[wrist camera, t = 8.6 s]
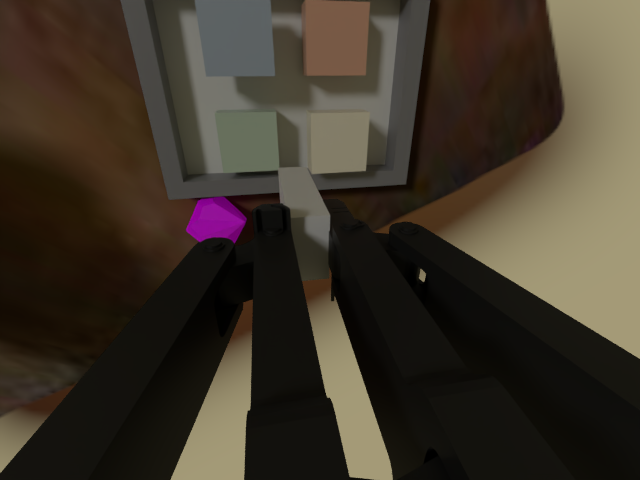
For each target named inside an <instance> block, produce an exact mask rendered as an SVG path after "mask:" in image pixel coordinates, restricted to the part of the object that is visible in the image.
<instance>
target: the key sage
mask: <svg viewBox="0 0 640 480" xmlns="http://www.w3.org/2000/svg"><path fill="white" fill-rule="evenodd" d="M215 120H216V126H217V133H218V140H219V146H220V153H221V160H222V167H223V173H236V172H255V171H274V170H278V168H280V167H279V151H278V135H277V119H276V111H275V109H240V110H217V111H216V112H215Z"/></svg>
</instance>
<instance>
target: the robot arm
mask: <svg viewBox="0 0 640 480" xmlns="http://www.w3.org/2000/svg"><path fill="white" fill-rule="evenodd" d="M278 175H279V191H280V203H278V204H262V205H260V206H258V207H256V208H255V209H253V211H252V217H253V226H254V239H252V240H251V241H250V242H247V243H245V244H242V245H239V246H235V245H234V242H233V241H232V240H230V239H228V238H222V237H217V238H216V237H212V238H208V239H205V240H203V241H201V242H199V243H197V244H196V245H195V246H194V247H193V248H192V249H191V250H190V252H189V253H188V254H187V255H186V256H185V258H184V259H183V260H182V261H181V262H180V263H179V265H178V266H177V267H176V268H175V269H174V270H173V272H172V273H171V274H170V275H169V276H168V277H167V279H166V280H165V281H164V282H163V283H162V284H161V286H160V287H159V288H158V289H157V290H156V291H155V293H154V294H153V295H152V296H151V297H150V299H149V300H148V301H147V302H146V303H145V304H144V306H143V307H142V308H141V309H140V310H139V311H138V313H137V314H136V315H135V316H134V317H133V318H132V320H131V321H130V322H129V323H128V324H127V325H126V327H125V328H124V329H123V330H122V331H121V332H120V334H119V335H118V336H117V337H116V338H115V340H114V341H113V342H112V343H111V344H110V345H109V347H108V348H107V349H106V350H105V351H104V352H103V354H102V355H101V356H100V357H99V358H98V359H97V361H96V362H95V363H94V364H93V365H92V366H91V368H90V369H89V370H88V371H87V372H86V373H85V375H84V376H83V377H82V378H81V379H80V381H79V382H78V383H77V384H76V385H75V386H74V388H73V389H72V390H71V391H70V392H69V393H68V395H67V396H66V397H65V398H64V399H63V401H62V402H61V403H60V404H59V405H58V406H57V408H56V409H55V410H54V411H53V412H52V413H51V415H50V416H49V417H48V418H47V419H46V420H45V422H44V423H43V424H42V425H41V426H40V427H39V429H38V430H37V431H36V432H35V433H34V434H33V436H32V437H31V438H30V439H29V440H28V441H27V443H26V444H25V445H24V446H23V447H22V448H21V450H20V451H19V452H18V453H17V454H16V456H15V457H14V458H13V459H12V460H11V461H10V463H9V464H8V465H7V466H6V467H5V468H4V470H3V471H2V472H1V473H0V480H170V479H171V476H172V475H173V472H174V470H175V468H176V465H177V463H178V461H179V458H180V456H181V453H182V451H183V449H184V446H185V444H186V442H187V439H188V437H189V435H190V432H191V430H192V428H193V425H194V423H195V421H196V418H197V416H198V413H199V411H200V409H201V406H202V404H203V402H204V399H205V397H206V395H207V392H208V390H209V388H210V385H211V383H212V381H213V378H214V376H215V373H216V371H217V368H218V366H219V364H220V362H221V359H222V357H223V355H224V352H225V350H226V347H227V344H228V343H229V341H230V338H231V336H232V333H233V331H234V329H235V326H236V324H237V322H238V319H239V317H240V315H241V312H242V310H243V302H246V301H249V300H252V299H253V323H252V373H251V375H252V376H251V409H250V411H248V413H247V421H246V444H245V445H246V446H245V475H244V480H371V479H363V478H352V477H349V473H348V468H347V464H346V459H345V455H344V451H343V446H342V442H341V437H340V433H339V429H338V425H337V420H336V415H335V411H334V408H333V404H332V401H331V399H330V398H327V396H326V393H325V389H324V384H323V379H322V374H321V369H320V365H319V360H318V356H317V350H316V346H315V341H314V336H313V331H312V327H311V322H310V317H309V312H308V308H307V303H306V299H305V294H304V289H303V284H302V281H305V280H316V279H327V278H329V267H330V270H331V273H332V283H331V301H334V296H335V297H336V300H337V303H338V306H339V309H340V312H341V315H342V318H343V321H344V324H345V327H346V330H347V333H348V336H349V339H350V342H351V345H352V348H353V351H354V354H355V357H356V360H357V363H358V366H359V369H360V372H361V375H362V378H363V381H364V384H365V387H366V390H367V393H368V396H369V398H370V401H371V405H372V407H373V411H374V414H375V417H376V419H377V423H378V425H379V429H380V431H381V434H382V438H383V441H384V443H385V447H386V449H387V452H388V455H389V459H390V463H391V468H392V475H393V480H640V359H639V358H637V357H636V356H634V355H632V354H631V353H629V352H627V351H626V350H624V349H623V348H621V347H619V346H618V345H616V344H614V343H613V342H611V341H609V340H608V339H606V338H604V337H602V336H601V335H599V334H598V333H596V332H594V331H593V330H591V329H590V328H588V327H586V326H585V325H583V324H581V323H580V322H578V321H577V320H575V319H573V318H572V317H570V316H568V315H566V314H565V313H563V312H562V311H560V310H558V309H557V308H555V307H553V306H552V305H550V304H549V303H547V302H545V301H544V300H542V299H540V298H538V297H537V296H535V295H534V294H532V293H530V292H529V291H527V290H526V289H524V288H522V287H521V286H519V285H517V284H516V283H514V282H512V281H511V280H509V279H508V278H506V277H504V276H502V275H501V274H499V273H498V272H496V271H494V270H493V269H491V268H489V267H488V266H486V265H485V264H483V263H481V262H480V261H478V260H476V259H475V258H473V257H471V256H470V255H468V254H466V253H465V252H463V251H462V250H460V249H458V248H457V247H455V246H453V245H452V244H450V243H448V242H447V241H445V240H443V239H442V238H440V237H439V236H437V235H435V234H434V233H432V232H430V231H429V230H427V229H425V228H424V227H422V226H420V225H417V224H413V223H411V222H401V223H395V224H392V225H391V226H390V229H389V234H383V233H374V232H372V231H371V229H370V228H369V226H368V225H367V224H366V223H365V222H363V221H360V220H357V219H354V217H353V216H352V214H351V213H350V212H349V210H348V208H347V207H346V205H345V204H344V202H342V201H340V200H338V199H329V200H322V198H321V196H320V194H319V192H318V190H317V188H316V185H315V183H314V181H313V179H312V177H311V175H310V173H309V171H308V169H307V167H306V166H305V167H283V168H278ZM420 269H422V270H423V271H424V272H425V273H426V278H425V281H424V282H422V281H421V280H420V279H419V274H420Z"/></svg>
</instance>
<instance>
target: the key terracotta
mask: <svg viewBox="0 0 640 480" xmlns="http://www.w3.org/2000/svg"><path fill="white" fill-rule="evenodd" d="M369 11H370V2H355V1H327V0H305V1H304V2H303V4H302V5H301V19H302V61H303V75H305V76H352V75H366V61H367V44H368V27H369Z"/></svg>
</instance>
